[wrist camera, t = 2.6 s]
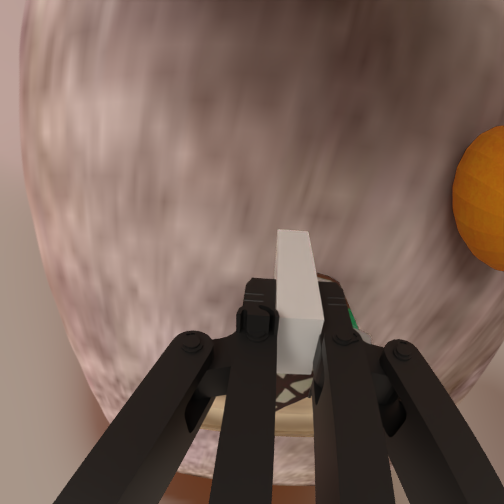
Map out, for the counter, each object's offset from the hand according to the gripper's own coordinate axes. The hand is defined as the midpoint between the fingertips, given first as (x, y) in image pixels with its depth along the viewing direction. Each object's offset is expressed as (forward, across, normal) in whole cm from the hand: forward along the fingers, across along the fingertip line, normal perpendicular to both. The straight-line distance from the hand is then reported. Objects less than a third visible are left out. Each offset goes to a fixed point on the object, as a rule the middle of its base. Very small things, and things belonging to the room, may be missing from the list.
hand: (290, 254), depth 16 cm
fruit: (+9, +18, +4) cm, 21 cm away
